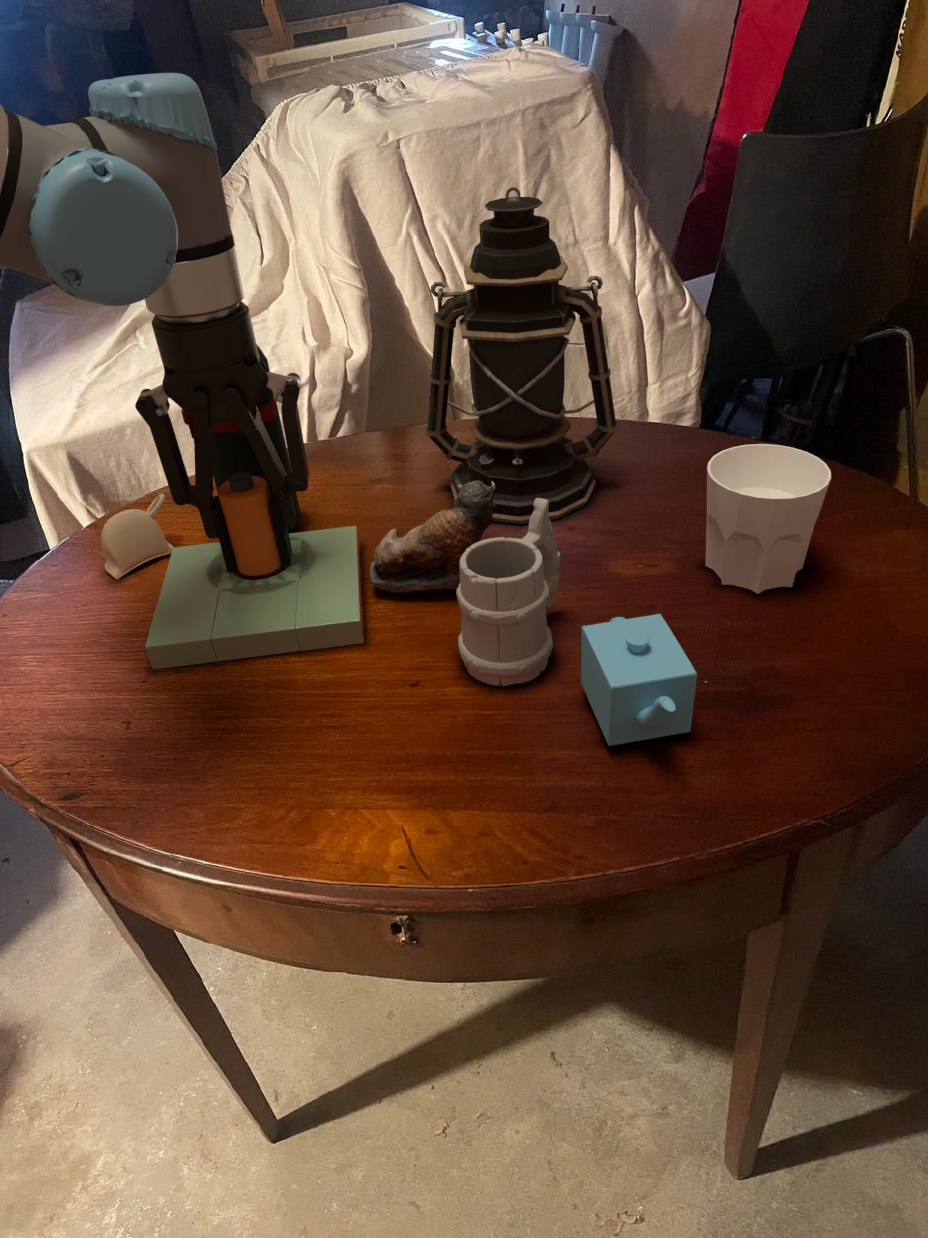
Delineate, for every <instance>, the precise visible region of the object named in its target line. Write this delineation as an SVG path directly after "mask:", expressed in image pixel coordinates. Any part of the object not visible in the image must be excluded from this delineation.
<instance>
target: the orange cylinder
mask: <svg viewBox="0 0 928 1238" xmlns="http://www.w3.org/2000/svg"><path fill="white" fill-rule="evenodd" d="M216 492H217V491H216ZM217 496H218V497H219V501H220V504H221V508H222V512H223V516H224V520H225V523H226V527H227V531H228V535H229V538H230V542H231V546H232V550H233V554H234V557H235V561H236V565H237V569H238V570H239V571H240V572H241V573H242V574H245V575H249V576H248V577H250V576H251V577H259V576H265V575H268V574H271V573H273V572H276V571H277V570H279V569H278V568H280V567H281V566H282V560H281V556H280V552H279V547H278V543H277V538H276V534H275V530H274V525H273V521H272V516H271V512H270V508H269V499H270V492H269V488H268V484H267V481H266V480H265V479H263V478H261V477H257V476H251V474H250V473H248V472H239V473H235V474H233V475H231V476H230V477H229V481H227V482H225V483H223V484H222V485H221V486H220V487H219V488H218V492H217Z"/></svg>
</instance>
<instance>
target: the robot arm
mask: <svg viewBox="0 0 928 1238" xmlns="http://www.w3.org/2000/svg"><path fill="white" fill-rule="evenodd" d="M87 96H88V100H89V105H90V106H89V109H88V112H89V114H90V116H86V117H82V118H80V119H78V120H72V121H70V122H66V123H59V124H49V125H42V124H40V123H39V122H36V121H34V120H33V119H30V118H28V117H26V116H23V115H20V114H17V113H15V112H13V111H11V110H8V109H6V108H4V107H3V105H2V104H0V270H2V269H7V268H8V269H11V270H14V271H17V272H20V273H23V274H26V275H28V276H30V277H34V278H36V279H39V280H42V281H45V282H48V283H50V284H53V285H56V287H57V288H58V289H59V290H60V291H62V292H63V293H64V294H66V295H69V296H71V297H73V298H75V299H79V300H83V301H85V302H86V301H87V302H90V303H94V304H98V305H101V306H107V307H123V306H128V305H132V304H136V303H138V302H141V301H144V302H145V306H146V309H147V311H148V312H150V313H151V314H153V315H154V316H153V318H152V319H151V327H152V330H153V335H154V338H155V341H156V344H157V350H158V352H159V355H160V359H161V364H162V367H163V371H164V372H163V379H162V383H161V384H160V385H158V386H156V387H154V388H152V389H150V388H143V389H142V390H141V391H140V394H139V395H138V397H137V400H136V402H135V406H134V407H135V409H136V412H137V413H138V414H139V415H140V416H141V418H142V420H144V422H145V423H146V425H147V426H148V427H149V429H150V433H151V436H152V439H153V442H154V445H155V448H156V451H157V454H158V455H157V456H158V458H159V461H160V464H161V467H162V470H163V473H164V476H165V479H166V483H167V485H168V488H169V492H170V495H171V497H172V500H173V503H174V504H175V505H176V506H179V507H180V506H181V507H182V506H185V505H188V506H189V505H190V506H194V507H195V508H196V509H197V510H198V512H199V515H200V520H201V522H202V526H203V530H204V534H205V535H206V537H207V538H208V539H209V540H211V539H218V542H220V546H221V550H222V553H223V557H224V561H225V564H226V568H227V572H234V571H236V567H237V565H236V561H235V557H234V554H233V550H232V546H231V542H230V538H229V535H228V531H227V527H226V523H225V520H224V516H223V512H222V508H221V504H220V501H219V497H218V495H213V494H214V489H215V487H214V477H213V443H212V426H216V425H218V424H221V423H224V422H226V423H234V424H235V423H238V424H239V426H240V428H241V430H242V432H243V434H244V435H246V437H247V439H248V441H249V443H250V445H251V447H252V449H253V451H254V453H255V455H256V457H257V459H258V461H259V463H260V465H261V467H262V469H263V471H264V474H265V476H266V478H267V480H268V482H269V484H270V486H271V488H272V489H271V490H270V499H269V508H270V512H271V516H272V521H273V525H274V530H275V534H276V538H277V543H278V547H279V552H280V556H281V560H282V565H283V566H284V565H291V556H292V547H291V543H290V538H289V533H288V529H294V528H295V525H296V517H297V515H296V511H295V506H294V501H293V496H292V495H293V494H294V493H296V494H297V493H298V492H301V493H302V492H306V491H307V490H308V488H309V480H310V479H309V477H310V475H309V474H310V471H309V466H308V465H309V464H308V460H307V454H306V448H305V441H304V436H303V431H302V424H301V418H300V412H299V406H298V400H299V396H300V392H301V391H300V389H301V377H300V375H299V374H298V373H296V372H290V373H288V374H287V375H284V374H281V373H276V372H272V371H270V372H269V371H268V368H267V366H266V365H265V364H264V363H263V361H262V360H261V358H260V356H259V354H258V349H257V345H258V344H257V340H256V337H255V330H254V326H253V321H252V316H251V312H250V308H249V306H248V305H246V303H244V302H243V300H244V299H245V297H246V293H247V291H246V288H245V283H244V279H243V274H242V270H241V266H240V261H239V256H238V251H237V248H236V247H237V246H236V243H235V242H236V241H235V237H234V234H233V231H232V227H231V222H230V216H229V211H228V205H227V200H226V196H225V191H224V190H225V189H224V185H223V179H222V175H221V169H220V164H219V158H218V153H217V151H218V145H217V142H216V141H215V137H214V133H213V130H212V126H211V122H210V118H209V113H208V110H207V107H206V105H205V102H204V98H203V95H202V92H201V90H200V87H199V85H198V84H197V83H196V82H195V80H194V79H193V78H192V77H190V76H188V75H187V74H183V73H180V72H179V73H178V72H157V73H145V74H133V75H125V76H119V77H118V76H117V77H113V78H109V79H107V78H106V79H100V80H95V81H94V82H92V83H91V84H90V86H89V87H88V91H87ZM256 344H257V345H256ZM266 387H268V388H270V389H271V390H272V392H273V397H274V399H275V401H276V402H277V403H278V404H281V409H280V410H281V411H280V412H281V419H282V421H281V422H282V425H283V426H282V427H283V429H284V430H283V433H284V438H285V443H286V448H287V453H288V457H289V462H290V466H291V471H292V473H291V474H289V475H287V473H286V471H285V469H284V467H283V465H282V462H281V460H280V458H279V456H278V454H277V452H276V450H275V448H274V445H273V443H272V441H271V439H270V437H269V435H268V433H267V431H266V428H265V426H264V424H263V422H262V420H261V416H260V413H259V410H258V408H257V404H258V402H259V400H260V398H261V396H262V394H263V392H264V390H265V388H266ZM169 399H170V400H172V401H173V402H174V403H175V404H176V405H177V406H178V407H180V408H181V410H182V409H183V410H184V411H185V412H187V413H188V414H189V415H190V416H191V417H192V418H193V437H194V438H193V444H194V445H193V447H194V448H193V449H194V451H193V452H194V482H195V483H194V484H195V485H194V484H191V482H190V479H189V475H188V472H187V468H186V465H185V462H184V459H183V456H182V452H181V448H180V446H179V442H178V439H177V436H176V432H175V429H174V426H173V423H172V419H171V417H170V414H169V410H170V407H171V405H170V404H171V403H170V402H169Z"/></svg>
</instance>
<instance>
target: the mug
mask: <svg viewBox="0 0 928 1238" xmlns="http://www.w3.org/2000/svg"><path fill="white" fill-rule="evenodd" d="M533 505H534V511H533V513H532V516H531V517H530V520H529V523H528V529H527V533H526V534H525V535H524V537H521V538H517V537H504V536H498V537H492V538H491V537H490V538H487V539H483V540H481V541H479V542H477V543H475V544H473V545H471V546H470V547H469V548H467V549H466V551H465V553H464V554H463V555H462V556H461V558H460V584H459V587H458V588H456V591H455V594H456V598H457V603H458V606H459V609H460V613H461V616H460V617H461V620H460V621H461V623H460V624H461V625H460V627H461V628H460V629H461V630H460V632H459V635H458V637H457V647H458V653H459V656H460V658H461V660H462V661H463V665H464V668H466V671H467V673H468V674H469V675H470V676H471V677H473V678H474V679H476V680H478V681H480V682H482V683H485V684H487V685H491V686H496V687H497V686H498V687H500V686H501V687H507V686H511V685H517V684H525V683H527V682H530V681H532V680H534V679H536V678H537V677H538V676H539V675H541V672H544V671H545V669H546V668H547V665H548V663H549V662H548V661H549V658H550V656H551V653H552V650H553V647H554V641H553V635H552V632H551V630H550V628H549V626H548V622H547V611H548V610H551V609H552V606H553V602H554V597H555V594H557V593H558V591H559V590H558V589H559V583H560V572H559V569H560V567H561V553H560V552H559V551H558V547H557V545H558V541H557V540H556V537H555V533H554V530H553V526H552V522H551V520H549V514H548V508H549V501H548V500H547V499H542V498H536V499H535V501H534V504H533Z"/></svg>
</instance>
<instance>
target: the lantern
mask: <svg viewBox="0 0 928 1238" xmlns="http://www.w3.org/2000/svg"><path fill="white" fill-rule="evenodd" d="M512 191H515V192H516V195H517V196H509V195H510V193H511V192H512ZM504 196H505V197H502V198H501V197H500V198H497V199H496V198H495V199H493V200H490V201H488V202H486V203H485V204H484V207H485V209H486V210H487V211H490V212H492V213H493V217H492V218H488V219H484V220H483V221H482V222H480V223H479V225H478V227H479V242H478V243H477V244H476V245H475V246H474V248H473V251H472V255H471V258H470V263H469V264H468V265H467V266H466V268H465V269H463V273H464V274H463V275H464V278H465V283H466V285H467V286H468V285H469V286H473V288H470V289H467V290H466V291H444V289H445V288H447V287H448V284H446V283H445V282H443V281H435V282H433V283H432V284H431V285H430V293H431V294H432V295H433V296H434V297H436V298H437V311H436V312H434V313H433V321H434V332H433V333H434V334H433V344H432V345H433V346H432V347H433V348H432V359H431V373H430V375H429V383H430V388H429V401H428V416H427V427H426V428H425V436H426V437H428V438H429V439H430V440H431V441H432V442H433V443H434V444H435V445H436V446H437V447H438V448H439V450H440V451H441V452H442V453H443V454H444V457H445V458H446V459H447V460H448V461H450V460H452V461H456V462H458V464H457V466H456V467H455V468H454V469H453V471H451V478H452V479H451V480H452V482H451V484H450V485H449V486H450V489H451V493H452V495H453V498H454V499H453V500H455V499H457V496H458V494H459V490H458V485H459V483H460V482H462V485H465V484H467V483H469V482H472V481H482V482H483V483H484V484H485V485H486V486H489V487H491V485H492V484H491V481H493V482H494V484H495V492H494V495H493V500H494V501H495V505H496V508H494V509H493V519H494V521H493V522H495V523H503V524H512V525H519V526H520V525H526V524H529V520H530V517H531V516H532V513H533V511H534V505H533V504H534V501H535V499H536V498H542V499H547V500H548V501H549V508H548V514H549V521H552V520H558V519H560V518H562V517H564V516H566V515H568V514H570V513H572V512H574V511H577V510H578V509H580V508H582V507H583V506H586V504H588V501H589V499H590V497H591V495H592V493H593V491H594V489H595V487H596V485H597V482H596V480H595V479H594V473H595V472H594V469H593V467H592V465H591V464H590V462H589V461H588V459H590V458H593V457H594V458H596V457H598V455H599V454H600V450H601V449H602V448H603V447H604V446H605V445H606V443H607V442H608V441H609V440H610V438H612V436H613V435H614V434H615V433H616V432H618V430H619V423H618V422H617V420H616V419H617V418H616V413H615V406H614V399H613V398H614V397H613V391H612V390H613V389H612V384H611V374H612V373H611V368H609V361H608V356H607V349H606V341H605V333H604V327H603V320H602V315H603V308H602V306H601V305H599V299H598V297H599V290H601V289H602V287H603V285H604V281H603V279H602V277H600V276H598V275H590V276H589V278H587V279H586V282H587V283H589V284H590V285H586V286H585V285H584V286H567V285H564V284H563V285H562V284H560V281H562V280H563V278H564V276H565V275H566V273H567V271H568V269H569V266H568V264H567V262H566V260H565V259H564V257H563V255H561V254H560V252H559V249H558V246H557V243H556V242H555V240H553V239H552V238H551V237H550V220H549V219H548V218H547V217H546V216H541V215H537V214H535V209H538V208H540V206H542V205H543V204H544V203H543V201H542V200H541V199H540V198H538V197H531V196H521V191H520V190H519V189H518V188H517V187H515V186H512V187H509V188H507V190H506V191H505V195H504ZM593 281H596V282H597V283H596V282H593ZM437 287H441V288H439V289H438V292H437V291H436V288H437ZM587 292H591V295H592V297H591V295H589V294H588V293H587ZM443 298H447V299H446V300H445V302H444V303H443ZM576 314H577V315H578V316H579V317H578V318H579V319H578V320H579V323H580V324H581V328H582V334H583V341H584V345H585V353H586V360H587V366H588V372H587V376H588V379H589V380H590V386H591V393H592V398H593V399H591V400H589V401H588V402H587V403H585V404H583V405H581V406H580V407H578V408H576V409H566V407H565V404H564V396H565V384H566V383H565V378H566V377H565V374H566V373H565V366H566V365H565V361H566V360H565V355H566V354H565V351H566V349H567V348H568V345H569V343H570V339H569V338H568V337H566V336H569V335H570V334H571V331H572V329H573V327H574V325H575V323H576V321H577V316H576ZM460 317H461V318H460ZM459 318H460V319H459ZM458 319H459V321H458ZM457 321H458V322H459V323H458V324H459V328H460V335H461V339H462V340H467V341H466V342H467V344H468V354H469V355H468V356H469V357H468V358H469V371H470V384H471V385H470V386H471V394H472V399H473V400H472V401H473V404H472V406H471V411H469V410H467V409H465V408H463V407H461V406H459V405H457V404H455V403H453V402H451V401H449V392H450V384H451V382H452V376H451V370H452V369H451V368H452V358H453V357H452V356H453V346H454V337H455V329H456V327H457ZM591 405H594V410H595V411H594V412H595V418H596V422H595V428H594V430H592V432H591V433H590V434H589V435H588V434H587V435H586V436H585V437H584V438H583V439H582V440H580V441H577V442H573V441H572V439H571V438H568V437H566V435H567V433H568V432H569V430H570V428H571V427H572V424H571V422H570V421H569V420H568V418H567V416H566V414H575V413H576V414H577V413H580V412H581V411H583V410H585V409H586V408H588V407H589V406H591ZM448 406H450V407H452V408H454V409H456V410H458V411H460V412H461V413H464V414H465V415H467V416H473V417H474V416H475V417H477V419H476V420H475V421H474V423H472V425H471V426H470V430H471V432H472V434H473V436H474V439H475V441H474V442H473V443H471V444H470V445H469V444H467V443H466V444H465V443H462V442H460V440H459V439H458V438H457V437H456V438H455V437H454V436H453V435H452V434H451V433H450V432H448V425H447V413H448Z"/></svg>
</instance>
